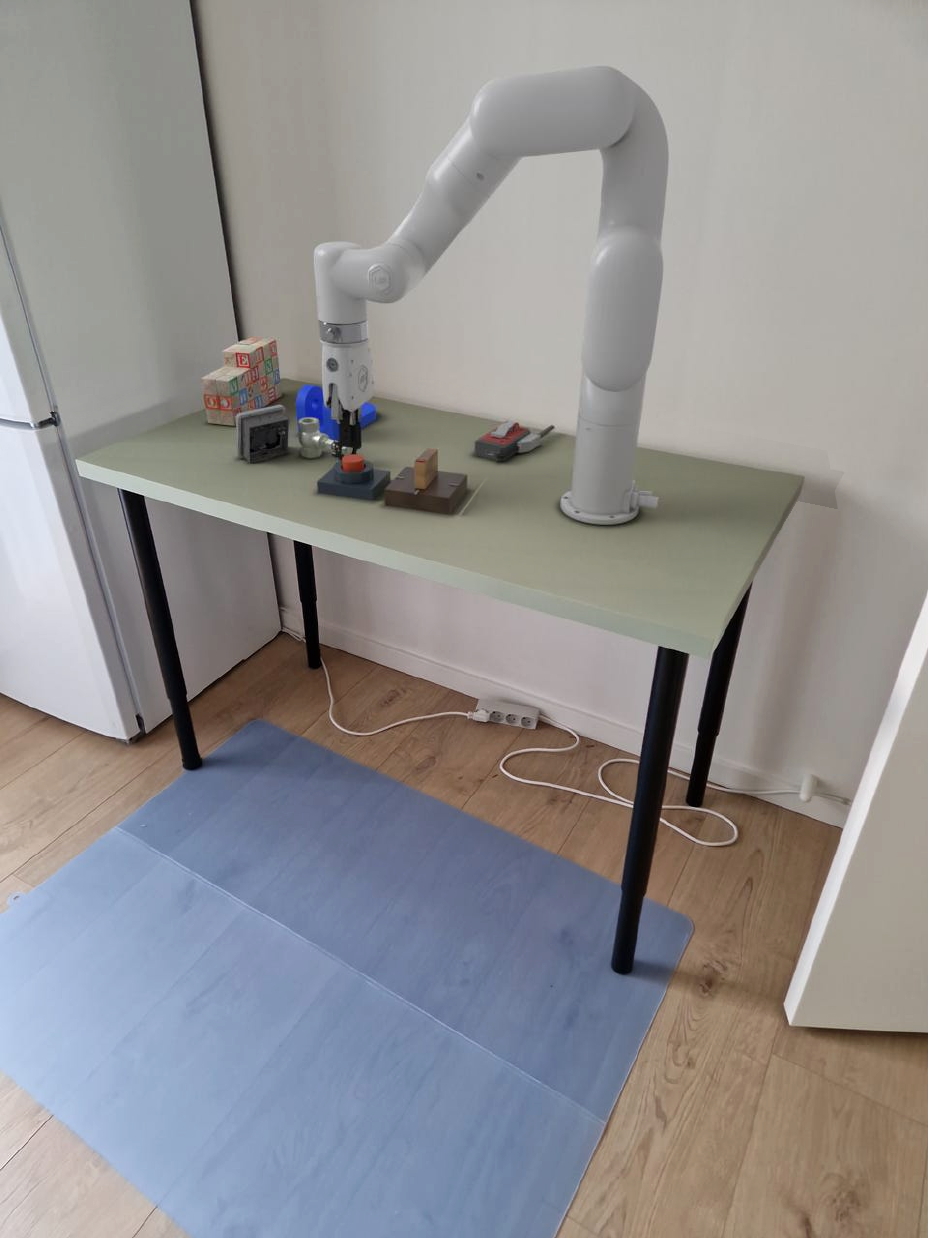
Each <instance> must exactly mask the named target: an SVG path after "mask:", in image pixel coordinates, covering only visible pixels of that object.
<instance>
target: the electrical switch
mask: <svg viewBox="0 0 928 1238" xmlns="http://www.w3.org/2000/svg"><path fill="white" fill-rule="evenodd" d="M286 409H287V408H286V407H285V406H284V405H282V404H276V405H272V406H267V407H266V406H265V407H263V408H261V409H257V410H252V411H247V412H242V413H238V414H237V415H236V425H235V429H236V430H235V436H236V439H235V440H236V455H237V457H238V458H239V459H240V460H241V459H245V460H246V461H247V462H248V463H249V464H252V463H257V462H261V461H265V460H270V459H272V458H273V457H277V456H281V455H285V454H287V455H288V453H289V426H290V419H289V417H287V415H286V411H287V410H286Z"/></svg>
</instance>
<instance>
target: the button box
mask: <svg viewBox="0 0 928 1238" xmlns="http://www.w3.org/2000/svg"><path fill="white" fill-rule="evenodd" d="M391 482H392V481H391V470H383V469H376V468H374V465H373V462H371V461H369V460H366V459H364V469H362V470H359V471H345V470H343V465H342V461H340V462H338V461H337V463H336V462H335V464H334V465H333V467H332V468H330V470H328V471H327V472H326V473H324V475H322V476H321V477H320V478H319V479H318V480H317V481H316V485H317V487H316V488H317V493H318V494H322V495H328V496H336V497H342V498H348V499H349V498H350V499H356V500H364V501H370V502H373V501H375V500H376V499H377V497H379V495H381V493H382V492H384V489H385V488H386V487H387V486H388V485H389V484H390V483H391Z"/></svg>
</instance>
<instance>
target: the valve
mask: <svg viewBox="0 0 928 1238" xmlns="http://www.w3.org/2000/svg"><path fill="white" fill-rule="evenodd" d="M298 425H299V431H300V432H298V442H299V444H300V446H301V447H300V453H301V456H302V457H304V458H307V459H313V458H319V457H320V456H321V455H322V453H323V451H326V450H327V449H328V450H330V451H332V452H331V457H332V458H335V459H338V461H337V460H336V461H335V464H336V463H337V462H340V461H342V458H343V457H344V456H345V455H352V454H356V455H359V454H357V451H358V450H360V449H361V448H362V446H363V445H362V444H361V445H360V446H359V447H358V448H350V447H343V446H341V445H340V440H339V439H335V441H333V440H330V438H329V436H328V435H327V434H323V433H320V431H319V428H320V426H319V420H318V419H316V418H313V417H306V418H302V419H300V420H299V422H297V426H298Z"/></svg>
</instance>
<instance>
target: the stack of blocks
mask: <svg viewBox="0 0 928 1238" xmlns="http://www.w3.org/2000/svg"><path fill="white" fill-rule="evenodd" d="M221 355H222V361H223V366H222V367H220V368H218V369H215V370H214V371H212V372H210V373H208V374H207V375H204V376H203V377H201V386H202V392H203V393H202V395H203V396H202V397H203V401H204V407H205V413H206V419H207V423H208V424H213V425H214V424H216V425H223V426H232V427H236V415H237V414H238V413H242V412H247V411H252V410H257V409H261V408H265V407H266V406H268V405H269V404H271V403H272V402H274V401H276V400H277V399H279V398H280V397H282V396H283V390H282V382H281V374H280V362H279V355H278V348H277V340H276V339H274V338H273V339H272V338H264V337H263V338H260V337H248V338H246V339H243V340H240V341H237V343H235V344H233V345H230V346H229V347H228V348H225V349H223V350H222V351H221Z"/></svg>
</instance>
